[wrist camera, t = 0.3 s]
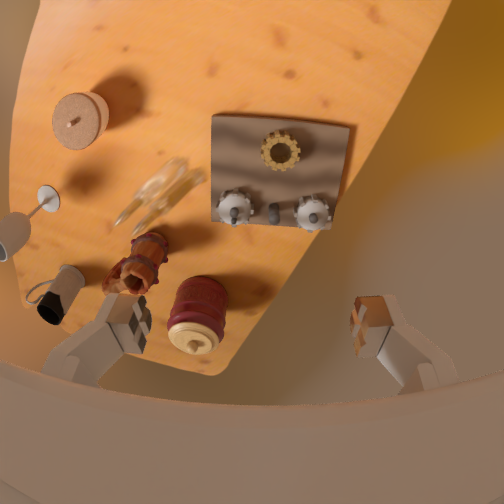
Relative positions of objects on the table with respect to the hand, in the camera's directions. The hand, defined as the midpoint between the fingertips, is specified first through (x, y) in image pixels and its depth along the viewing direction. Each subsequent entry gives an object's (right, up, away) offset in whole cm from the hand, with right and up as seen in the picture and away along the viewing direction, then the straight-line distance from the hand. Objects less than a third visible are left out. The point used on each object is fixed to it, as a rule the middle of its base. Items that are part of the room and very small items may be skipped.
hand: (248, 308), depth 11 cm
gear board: (+5, +17, +44) cm, 48 cm away
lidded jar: (-31, +29, +37) cm, 56 cm away
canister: (-12, -8, +64) cm, 65 cm away
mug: (-24, +4, +55) cm, 60 cm away
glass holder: (-53, -4, +62) cm, 82 cm away
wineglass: (-49, +15, +48) cm, 70 cm away
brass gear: (+5, +20, +39) cm, 45 cm away
